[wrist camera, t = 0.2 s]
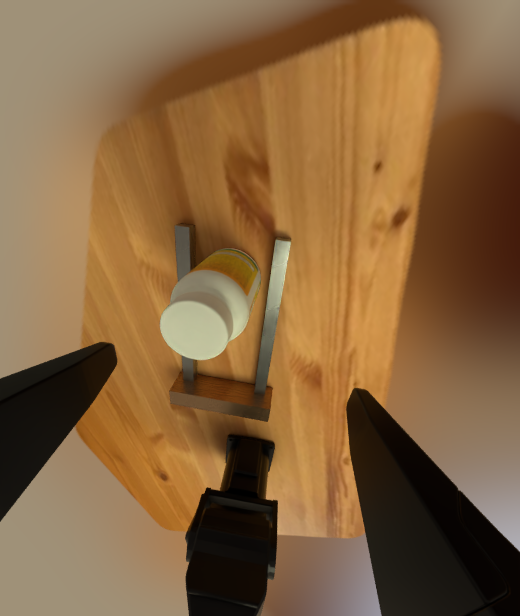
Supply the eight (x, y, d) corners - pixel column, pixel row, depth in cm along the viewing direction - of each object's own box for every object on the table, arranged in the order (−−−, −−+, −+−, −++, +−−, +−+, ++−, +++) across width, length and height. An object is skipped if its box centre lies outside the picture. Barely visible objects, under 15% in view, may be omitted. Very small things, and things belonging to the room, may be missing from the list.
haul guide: (270, 399, 28) (267, 421, 26) (181, 383, 29) (170, 403, 26) (300, 240, 20) (301, 248, 17) (171, 221, 20) (153, 227, 18)
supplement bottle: (266, 299, 22) (249, 368, 14) (212, 304, 23) (166, 372, 15) (255, 241, 20) (227, 283, 12) (196, 250, 21) (132, 295, 13)
